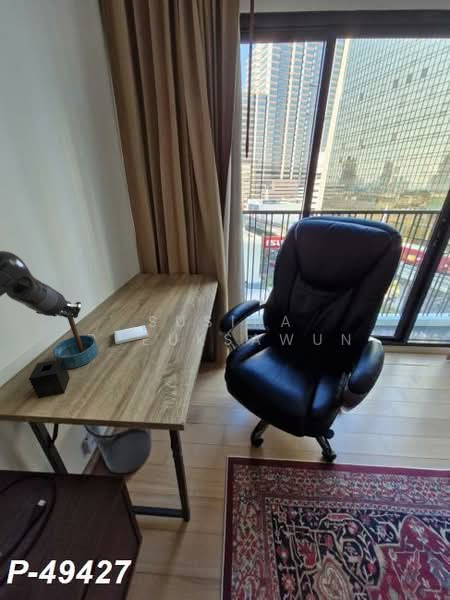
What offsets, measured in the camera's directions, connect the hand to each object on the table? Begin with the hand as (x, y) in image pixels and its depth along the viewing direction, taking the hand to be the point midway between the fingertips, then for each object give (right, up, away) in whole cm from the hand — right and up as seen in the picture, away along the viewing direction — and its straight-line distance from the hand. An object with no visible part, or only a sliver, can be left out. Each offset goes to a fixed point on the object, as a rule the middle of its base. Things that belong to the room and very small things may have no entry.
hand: (72, 315), depth 87 cm
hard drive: (+14, -10, +17) cm, 24 cm away
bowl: (-1, -16, +5) cm, 17 cm away
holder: (-1, -22, -8) cm, 24 cm away
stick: (+1, -13, +4) cm, 14 cm away
